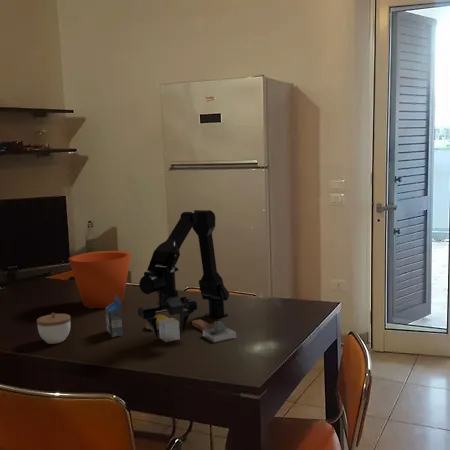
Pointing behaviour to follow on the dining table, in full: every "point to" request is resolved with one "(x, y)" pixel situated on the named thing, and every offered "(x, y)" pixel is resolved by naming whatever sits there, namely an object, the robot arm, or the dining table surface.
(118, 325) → the grey and blue box
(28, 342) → the dining table surface
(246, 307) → the dining table surface
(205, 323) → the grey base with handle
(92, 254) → the flowerpot
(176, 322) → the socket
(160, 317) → the bread roll
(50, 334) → the lidded jar
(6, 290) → the dining table surface
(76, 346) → the dining table surface
